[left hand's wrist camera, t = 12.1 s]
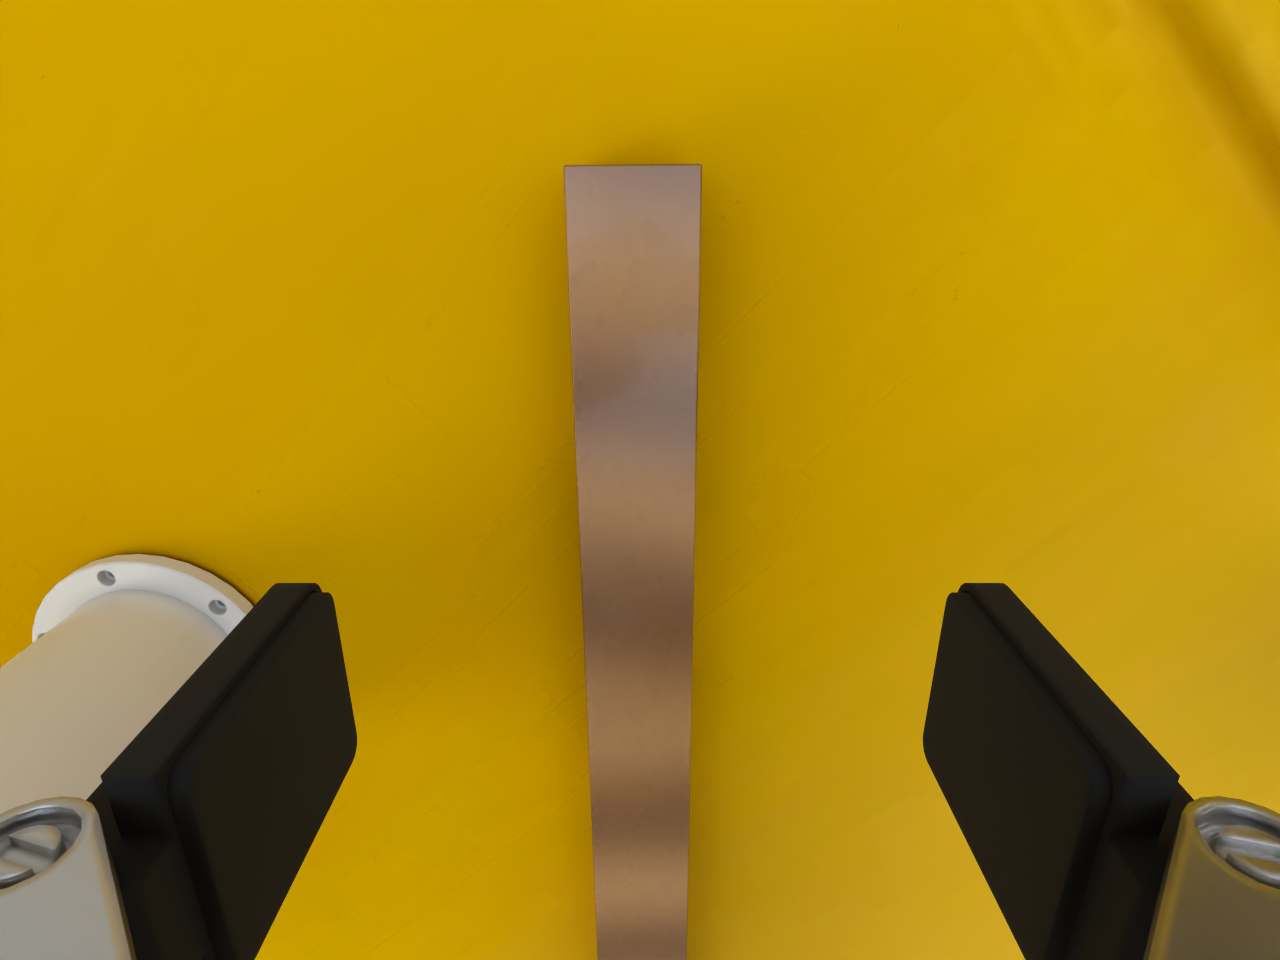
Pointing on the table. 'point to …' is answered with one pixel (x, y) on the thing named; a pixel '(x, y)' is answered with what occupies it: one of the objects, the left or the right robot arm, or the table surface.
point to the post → (637, 533)
